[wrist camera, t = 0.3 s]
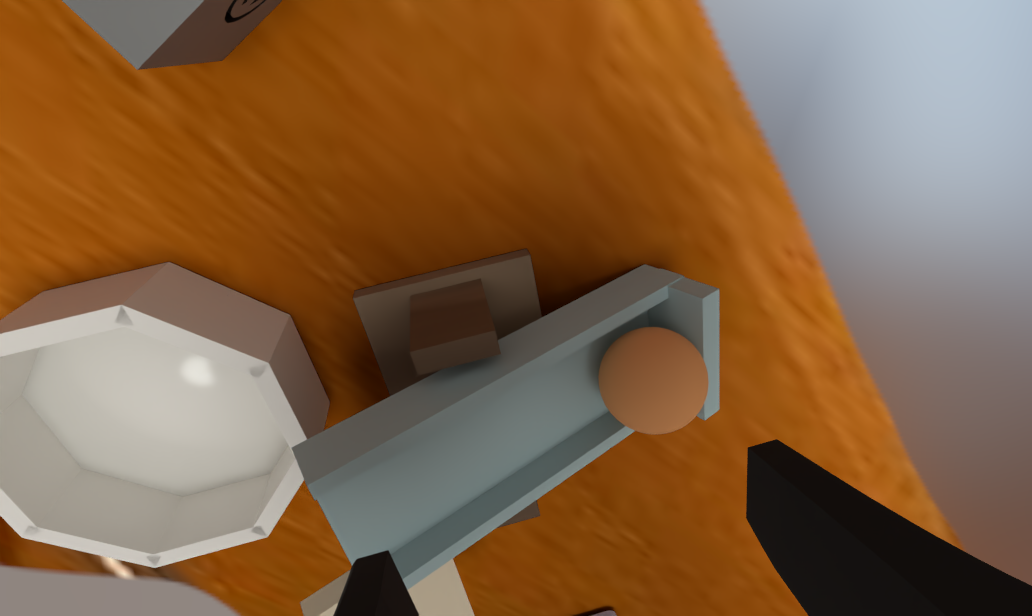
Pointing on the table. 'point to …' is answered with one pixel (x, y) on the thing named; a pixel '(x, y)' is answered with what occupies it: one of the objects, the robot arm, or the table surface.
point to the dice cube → (172, 27)
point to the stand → (448, 320)
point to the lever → (489, 436)
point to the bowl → (152, 416)
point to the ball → (653, 380)
